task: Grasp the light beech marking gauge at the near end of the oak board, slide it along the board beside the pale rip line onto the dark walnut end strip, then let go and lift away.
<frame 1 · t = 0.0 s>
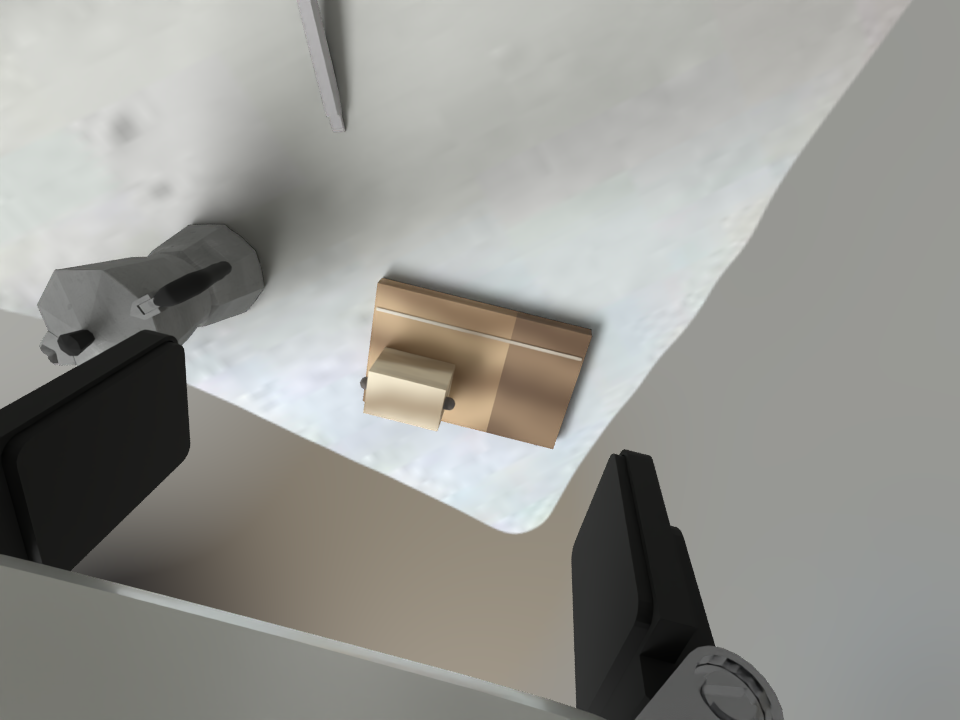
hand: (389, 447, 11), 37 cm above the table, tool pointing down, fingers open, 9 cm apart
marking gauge: (416, 375, 51), point 1 cm above the table, touching board
board: (472, 363, 52), on the table
coffeepot: (229, 264, 51), on the table
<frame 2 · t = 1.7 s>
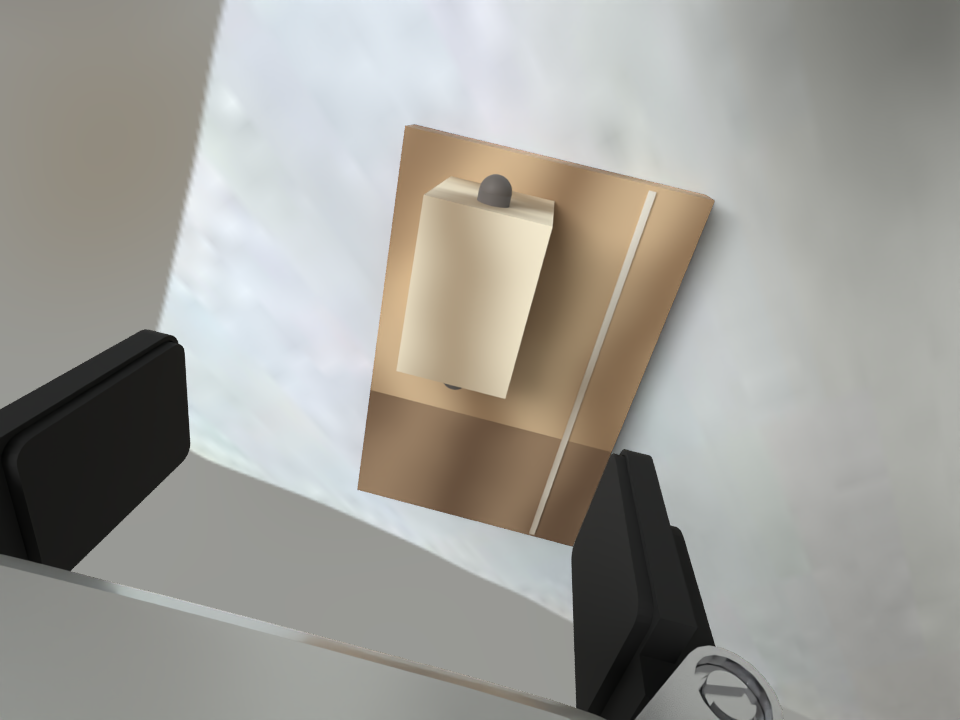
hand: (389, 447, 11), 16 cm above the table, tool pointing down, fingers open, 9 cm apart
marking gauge: (485, 266, 24), point 1 cm above the table, touching board
board: (506, 358, 27), on the table
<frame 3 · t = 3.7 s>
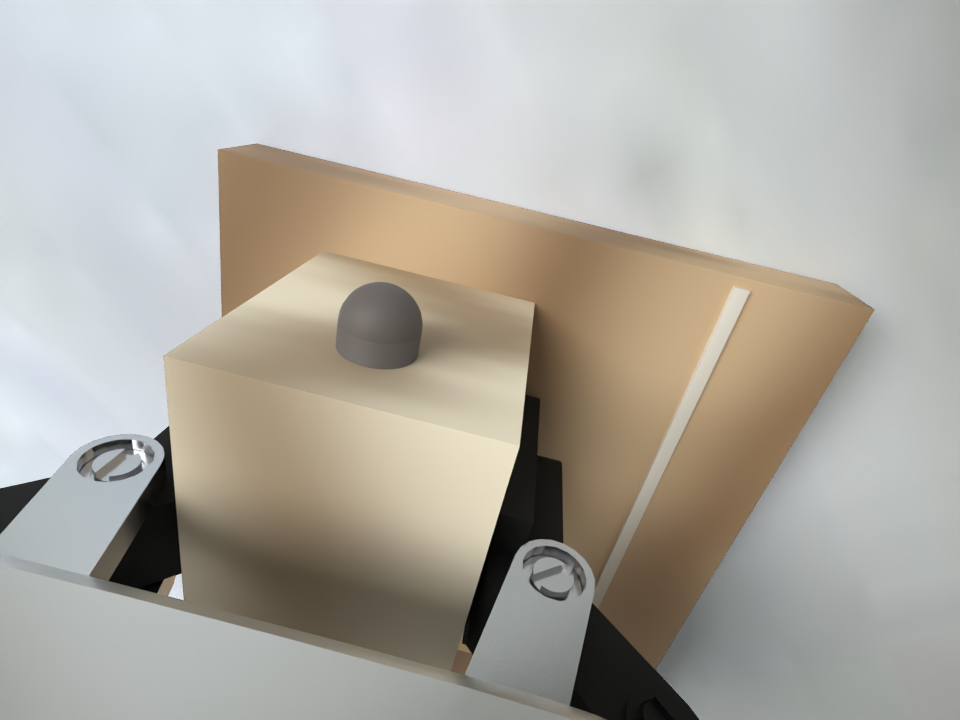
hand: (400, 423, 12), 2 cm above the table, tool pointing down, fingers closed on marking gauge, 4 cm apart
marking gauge: (405, 414, 12), point 2 cm above the table, touching board, gripper
board: (458, 537, 16), on the table
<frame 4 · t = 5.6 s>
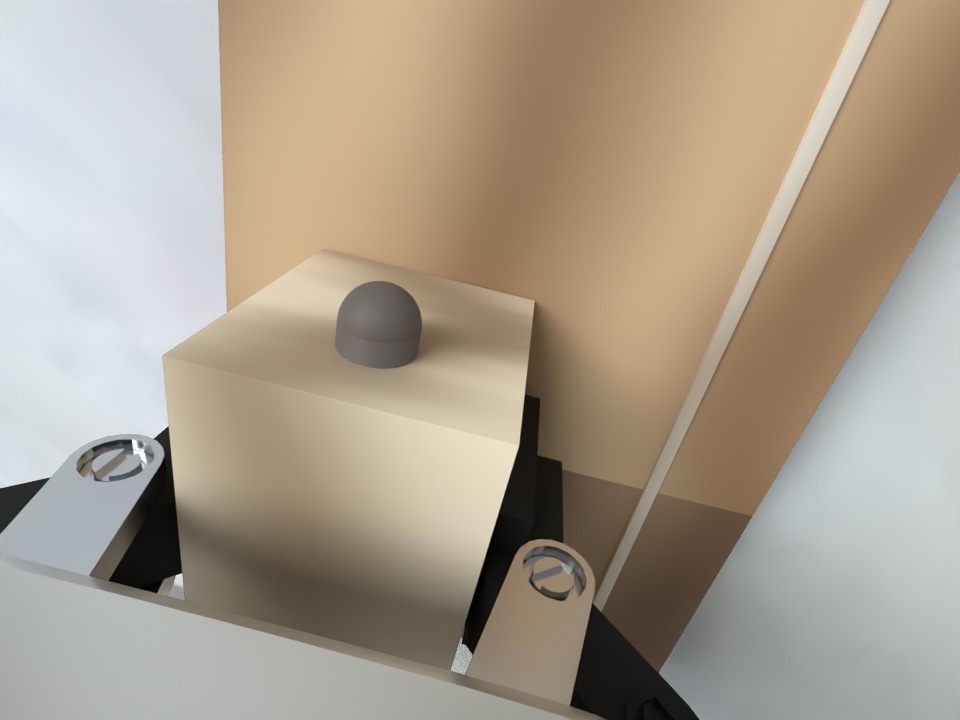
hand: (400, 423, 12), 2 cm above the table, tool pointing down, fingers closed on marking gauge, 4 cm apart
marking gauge: (405, 412, 12), point 2 cm above the table, touching gripper
board: (519, 315, 13), on the table
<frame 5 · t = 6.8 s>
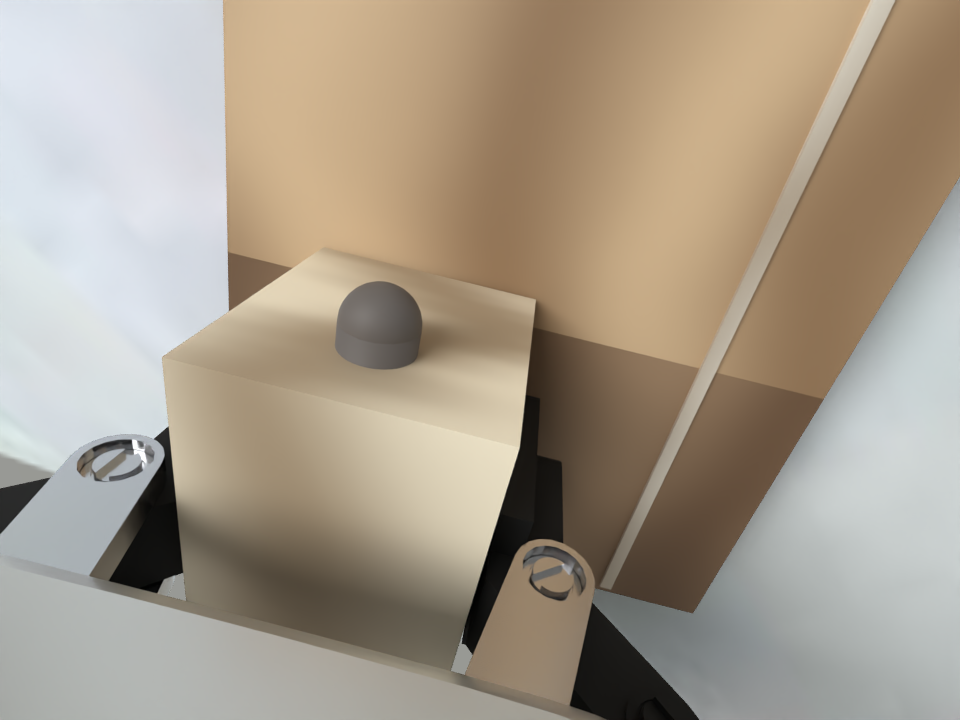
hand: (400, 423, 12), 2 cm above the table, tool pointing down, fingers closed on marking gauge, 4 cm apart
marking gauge: (406, 411, 12), point 2 cm above the table, touching board, gripper
board: (560, 170, 11), on the table
when the fingers open (2 cm above the table, at t = 7.5 s): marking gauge stays where it is, resting on board.
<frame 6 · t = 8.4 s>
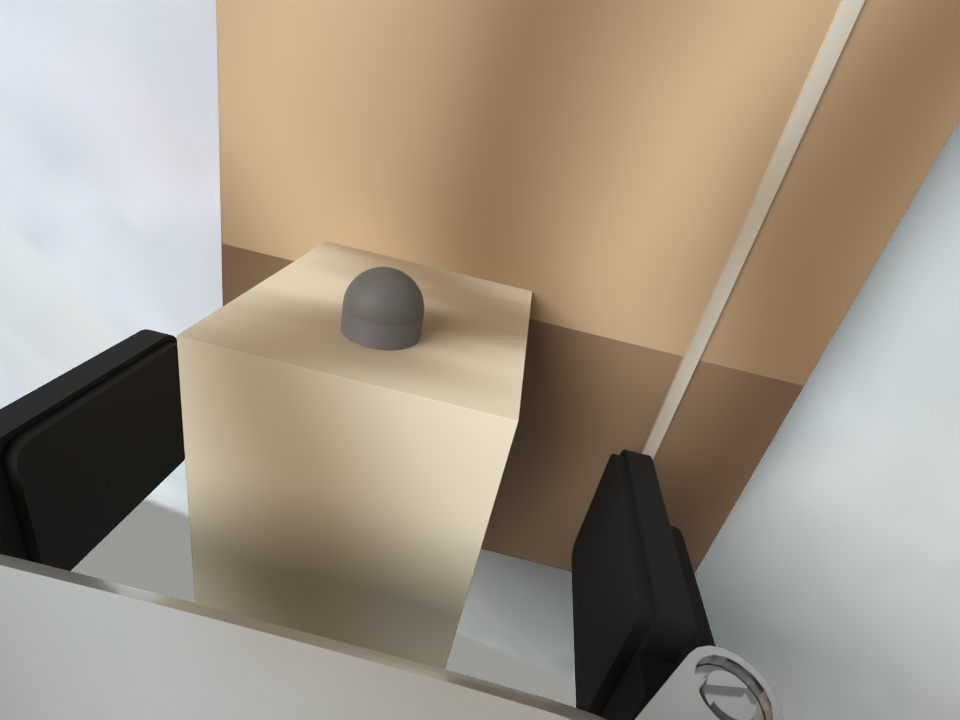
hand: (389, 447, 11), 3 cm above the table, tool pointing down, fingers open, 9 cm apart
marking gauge: (405, 402, 13), point 1 cm above the table, touching board
board: (547, 163, 11), on the table
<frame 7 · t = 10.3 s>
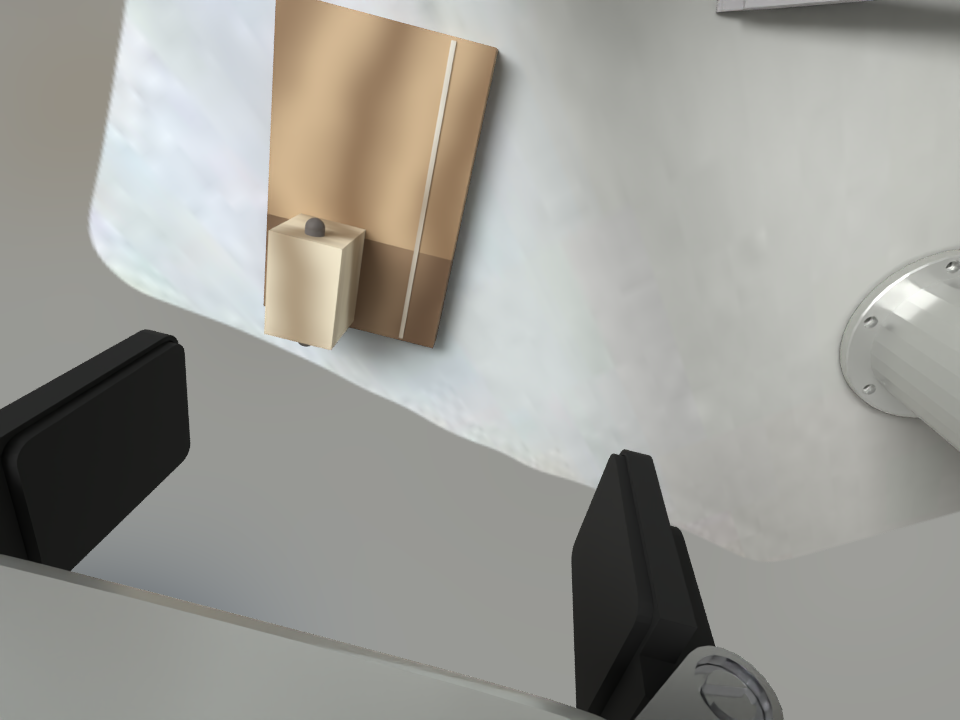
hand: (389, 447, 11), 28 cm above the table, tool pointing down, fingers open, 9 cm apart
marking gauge: (328, 269, 37), point 1 cm above the table, touching board
board: (371, 189, 36), on the table
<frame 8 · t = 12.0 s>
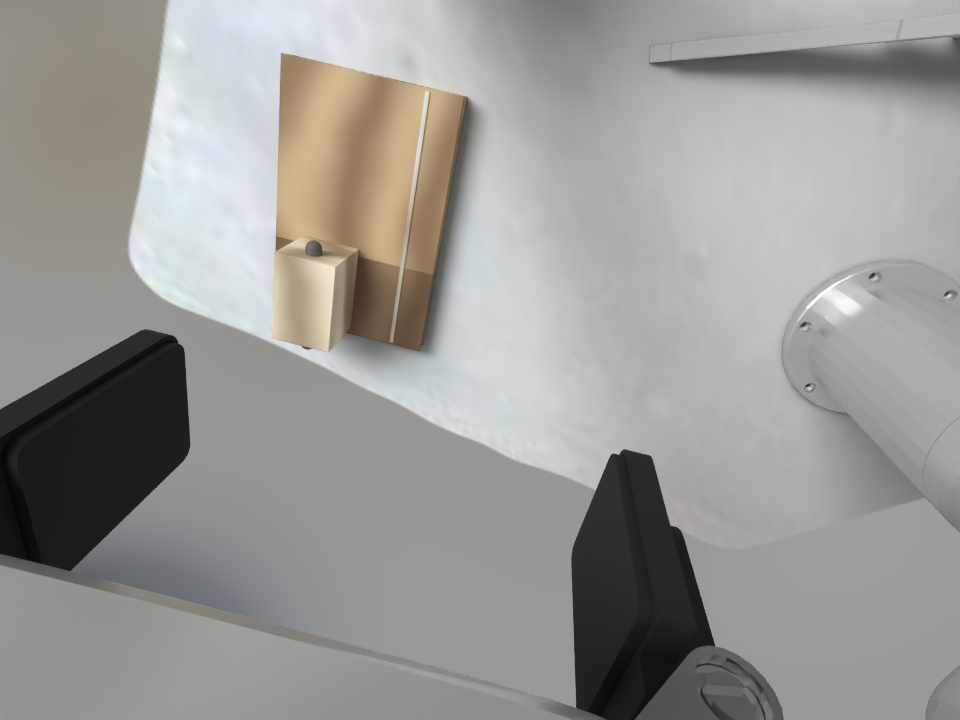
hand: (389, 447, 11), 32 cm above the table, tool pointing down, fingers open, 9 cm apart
caliper: (812, 41, 34), on the table
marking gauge: (328, 283, 43), point 1 cm above the table, touching board
board: (364, 214, 42), on the table
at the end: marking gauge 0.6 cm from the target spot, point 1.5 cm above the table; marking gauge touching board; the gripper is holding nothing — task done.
